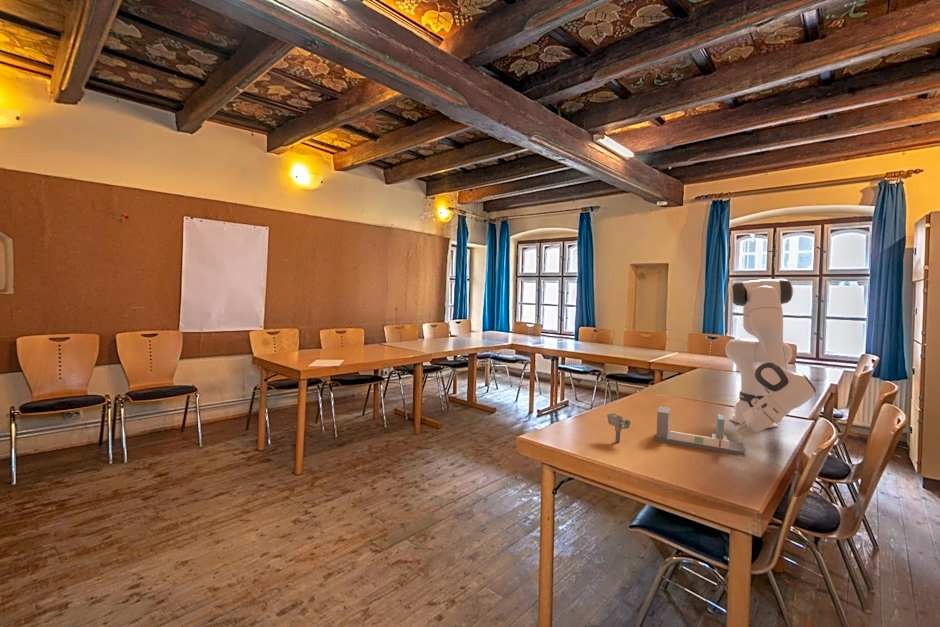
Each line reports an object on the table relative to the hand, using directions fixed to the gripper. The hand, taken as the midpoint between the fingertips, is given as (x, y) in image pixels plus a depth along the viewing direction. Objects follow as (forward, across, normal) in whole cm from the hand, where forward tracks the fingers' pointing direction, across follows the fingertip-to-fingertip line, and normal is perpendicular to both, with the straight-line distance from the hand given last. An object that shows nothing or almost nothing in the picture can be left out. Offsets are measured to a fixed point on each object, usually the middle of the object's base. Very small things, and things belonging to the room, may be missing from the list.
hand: (737, 430), depth 165 cm
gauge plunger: (+8, +1, 0) cm, 8 cm away
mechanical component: (+34, +16, -23) cm, 44 cm away
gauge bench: (+14, 0, -4) cm, 15 cm away
